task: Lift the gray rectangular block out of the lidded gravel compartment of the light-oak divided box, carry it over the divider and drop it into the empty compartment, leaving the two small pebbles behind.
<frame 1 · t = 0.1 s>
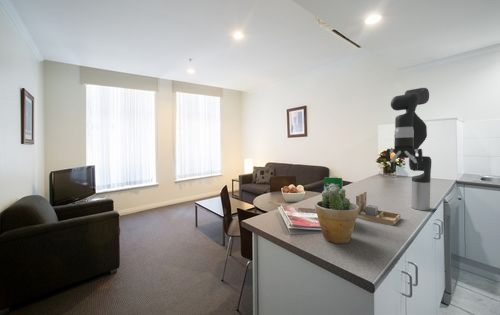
hand: (403, 170, 104), 29 cm above the worktop, fingers open, 8 cm apart
gray rectangular block: (372, 216, 122), point 1 cm above the worktop, touching divided box
potted plant: (336, 238, 98), on the worktop
milk carton: (333, 220, 120), on the worktop
pebble a: (368, 211, 127), point 2 cm above the worktop, touching divided box
divided box: (378, 219, 120), on the worktop
pebble b: (362, 214, 121), point 2 cm above the worktop, touching divided box
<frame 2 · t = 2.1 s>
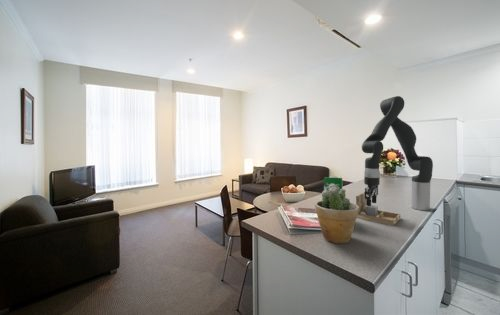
hand: (371, 204, 121), 8 cm above the worktop, fingers open, 8 cm apart
nothing on the worktop moved.
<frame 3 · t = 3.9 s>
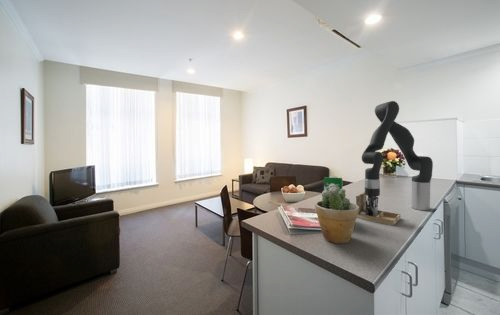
hand: (372, 216, 122), 1 cm above the worktop, fingers closed on gray rectangular block, 4 cm apart
gray rectangular block: (372, 216, 122), point 1 cm above the worktop, touching divided box, gripper
everything else where it was.
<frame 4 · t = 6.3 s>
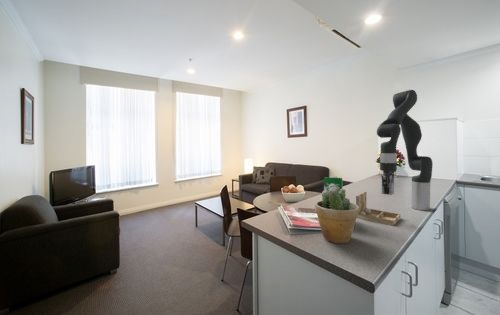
hand: (387, 193, 115), 15 cm above the worktop, fingers closed on gray rectangular block, 4 cm apart
gray rectangular block: (387, 193, 115), point 15 cm above the worktop, touching gripper
everything else where it was.
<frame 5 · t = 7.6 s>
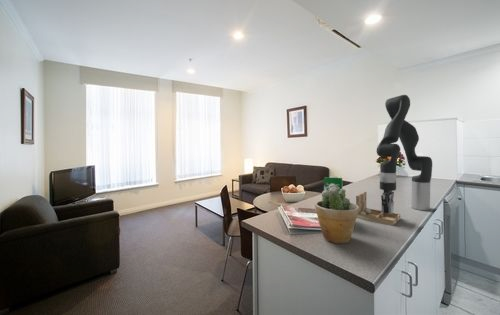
hand: (387, 211, 116), 5 cm above the worktop, fingers closed on gray rectangular block, 4 cm apart
gray rectangular block: (387, 212, 116), point 5 cm above the worktop, touching gripper
everything else where it was.
when the fingers open (3 cm above the worktop, at t = 8.8 s): gray rectangular block drops 2 cm, resting on divided box.
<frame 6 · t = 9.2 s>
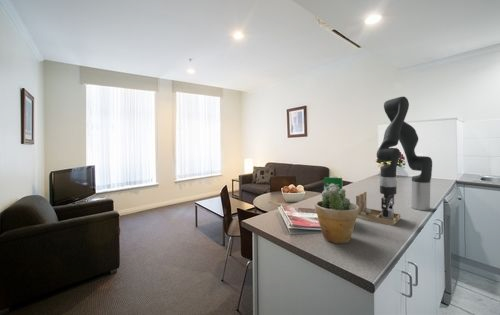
hand: (387, 214, 116), 4 cm above the worktop, fingers open, 7 cm apart
gray rectangular block: (387, 220, 116), point 1 cm above the worktop, touching divided box
everything else where it was.
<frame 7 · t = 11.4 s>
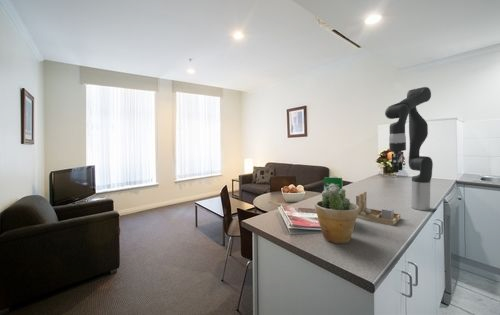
hand: (398, 171, 118), 27 cm above the worktop, fingers open, 8 cm apart
nothing on the worktop moved.
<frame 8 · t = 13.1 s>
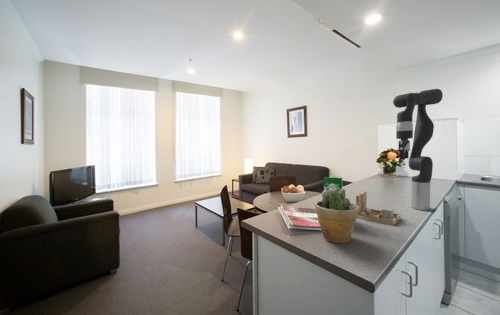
hand: (404, 159, 120), 33 cm above the worktop, fingers open, 8 cm apart
nothing on the worktop moved.
at the end: gray rectangular block inside the target area on the divided box (0.1 cm from its centre), point 0.6 cm above the divided box's base; the gripper is holding nothing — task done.
